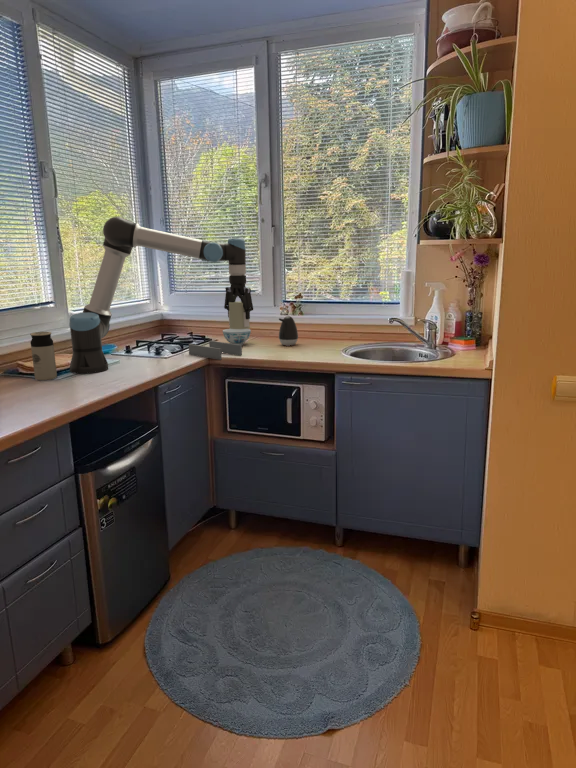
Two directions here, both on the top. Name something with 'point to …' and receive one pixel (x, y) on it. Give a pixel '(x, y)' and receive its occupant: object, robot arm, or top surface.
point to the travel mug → (43, 356)
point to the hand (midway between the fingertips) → (239, 325)
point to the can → (237, 315)
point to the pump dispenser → (288, 331)
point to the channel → (215, 349)
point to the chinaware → (236, 335)
